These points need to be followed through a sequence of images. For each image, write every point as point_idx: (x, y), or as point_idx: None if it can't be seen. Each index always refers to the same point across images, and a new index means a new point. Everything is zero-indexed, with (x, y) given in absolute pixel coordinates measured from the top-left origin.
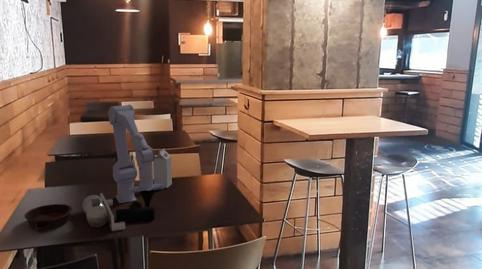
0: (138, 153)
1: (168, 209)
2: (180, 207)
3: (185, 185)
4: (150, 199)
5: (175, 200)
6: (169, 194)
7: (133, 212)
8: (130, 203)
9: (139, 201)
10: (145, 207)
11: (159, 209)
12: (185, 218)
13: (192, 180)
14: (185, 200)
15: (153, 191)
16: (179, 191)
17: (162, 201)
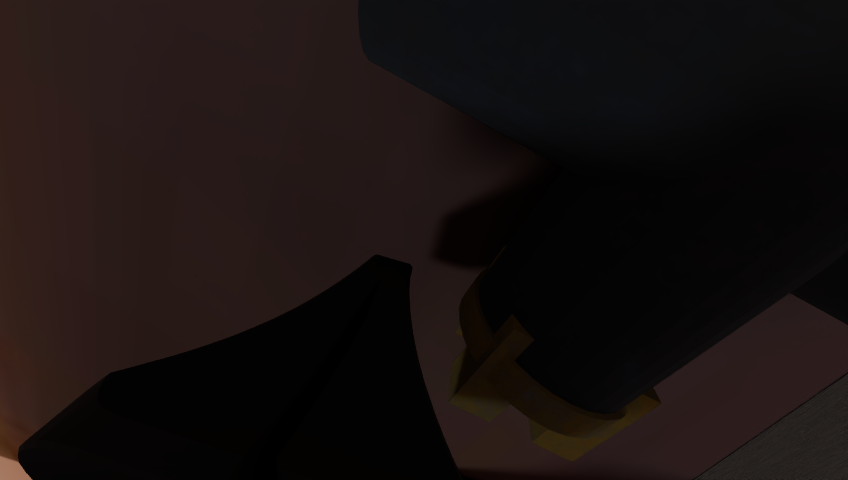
0: None
1: (181, 130)
2: (40, 88)
3: (38, 414)
4: (301, 312)
5: (98, 280)
6: None
7: None
8: (621, 429)
9: (465, 398)
10: (625, 7)
11: (275, 200)
12: None
13: (4, 431)
14: (7, 223)
15: (30, 474)
16: (71, 379)
17: (207, 331)
